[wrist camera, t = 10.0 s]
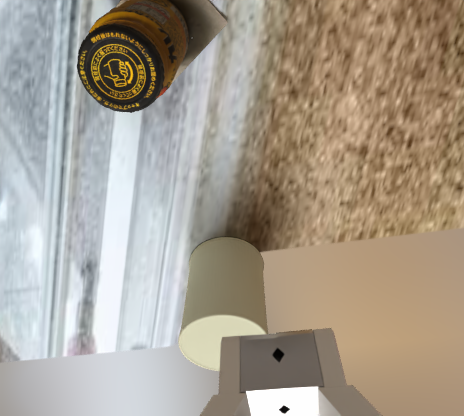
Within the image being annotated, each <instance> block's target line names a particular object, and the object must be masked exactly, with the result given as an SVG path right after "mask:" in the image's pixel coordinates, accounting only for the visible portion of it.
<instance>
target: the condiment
mask: <svg viewBox="0 0 464 416" xmlns="http://www.w3.org/2000/svg"><path fill="white" fill-rule="evenodd" d="M227 23H228V22H227V21H226V20H225V19H224V18H223V16H221V14H220V13H219V12H218V11H217V10H216V9H215V7H214V6H213V5H212V4H211V3H210V2H209V1H208V0H121V1H120V2H119V4H118V5H117V6H116V7H115V8H113V9H111V10H110V12H108V13H106V14H105V15H104V16H102V17H101V18H99V19H98V20H97V21H96V22H95V24H94V25H93V26H92V28H91V30H90V31H89V34H88V35H87V36H86V39H85V40H83V42H82V44H81V47H80V49H79V53H78V54H79V56H78V64H77V69H78V74H79V77H80V79H81V81H82V83H83V85H84V87H85V89H86V90H87V92H88V93H89V94H90V95H91V96H92V97H93V98H94V99H96V101H97V102H98V103H100V104H101V105H103V106H104V107H106V108H110V109H112V110H114V111H119V112H130V113H132V112H135V111H139V110H142V109H144V108H146V107H148V106H149V105H150V104H152V103H153V102H154V101H155V100H156V99H157V98H158V97H159V96H161V95H162V94H163V93H164V92H165V91H166V90H167V89H168V88H169V87H170V85H171V84H172V83H173V82H174V80H175V79H176V78H177V77H178V76H179V75H180V74H181V73H182V72H183V71H184V70H185V69H186V67H187V66H188V65H189V64H190V63H191V62H192V61H193V60H194V59H195V58H196V57H197V56H198V55H199V54H200V53H201V51H202V50H203V49H204V48H205V47H206V46H207V45H208V44H209V43H210V42H211V41H212V39H213V38H214V37H215V36H216V35H217V34H218V33H219V32H220V31H221V30H222V29H223V28H224V27H225V25H226V24H227ZM191 37H193V38H191Z"/></svg>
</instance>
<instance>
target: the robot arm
mask: <svg viewBox="0 0 464 416" xmlns="http://www.w3.org/2000/svg"><path fill="white" fill-rule="evenodd" d="M200 416H382V415H381V414H380V413H379V412H378V411H377V410H376V409H375V408H374V407H373V406H372V405H371V404H370V403H369V401H368V400H367V399H366V398H365V397H363V395H362V394H361V393H360V392H359V391H358V390H357V389H356V388H355V387H354V386H353V385H347V384H346V380H345V376H344V372H343V368H342V363H341V360H340V355H339V351H338V348H337V343H336V339H335V335H334V332H333V330H332V329H331V328H326V329H316V330H313V331H312V329H310V330H300V331H289V332H279V333H276V334H260V335H244V336H229V337H222V340H221V348H220V374H219V394H218V395H213V396H212V398H211V399H210V401H209V402H208V404H207V406H206V407H205V408H204V410H203V412H202V413H201V414H200Z"/></svg>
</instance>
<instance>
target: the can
mask: <svg viewBox="0 0 464 416" xmlns="http://www.w3.org/2000/svg"><path fill="white" fill-rule="evenodd" d="M263 269H264V262H263V258H262V256H261V254H260V252H259V251H258V250H257V249H256V248H255V247H254V246H253V245H251V244H250V243H248V242H246V241H244V240H241V239H238V238H233V237H219V238H214V239H211V240H208V241H206V242H204V243H202V244H201V245H199V246H198V247H197V248H196V249H195V250H194V252H193V253H192V255H191V257H190V261H189V278H188V286H187V293H186V300H185V307H184V313H183V319H182V325H181V331H180V335H179V340H178V342H179V348H180V350H181V352H182V353H183V355H184V356H185V357H186V358H187V359H188V360H189V361H191V362H192V363H194V364H196V365H198V366H200V367H203V368H206V369H210V370H216V371H220V348H221V340H222V337H229V336H244V335H260V334H268V328H267V319H266V306H265V294H264V281H263Z"/></svg>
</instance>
